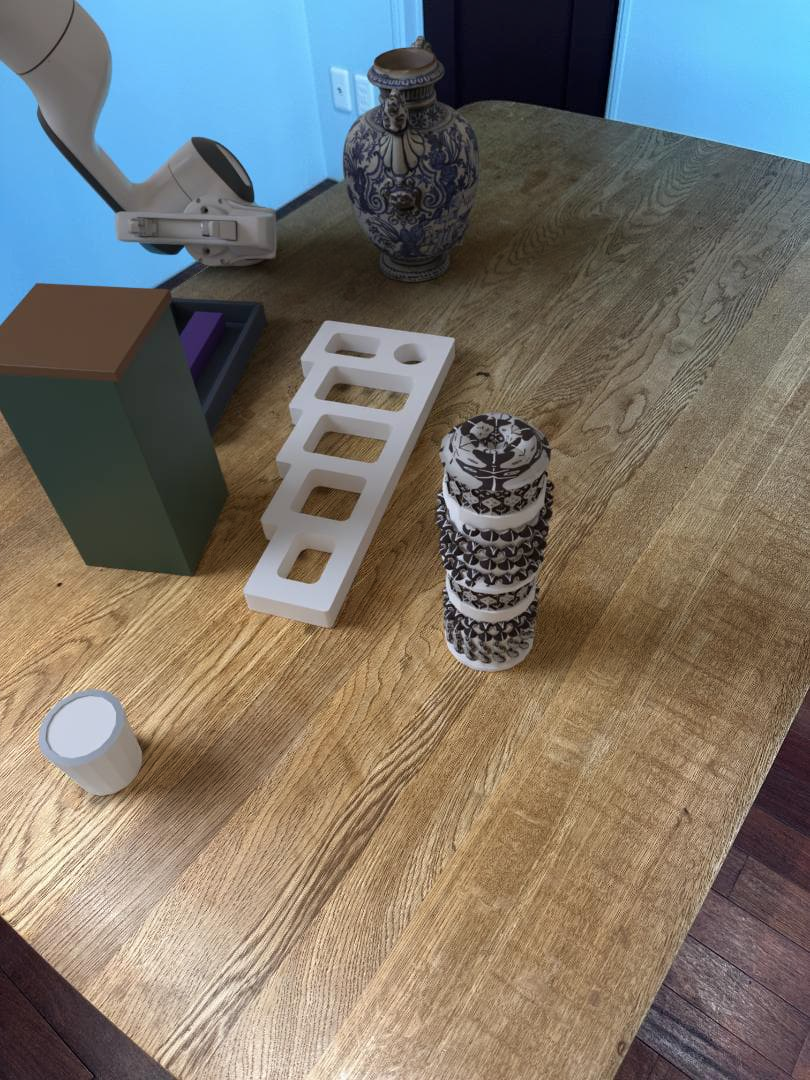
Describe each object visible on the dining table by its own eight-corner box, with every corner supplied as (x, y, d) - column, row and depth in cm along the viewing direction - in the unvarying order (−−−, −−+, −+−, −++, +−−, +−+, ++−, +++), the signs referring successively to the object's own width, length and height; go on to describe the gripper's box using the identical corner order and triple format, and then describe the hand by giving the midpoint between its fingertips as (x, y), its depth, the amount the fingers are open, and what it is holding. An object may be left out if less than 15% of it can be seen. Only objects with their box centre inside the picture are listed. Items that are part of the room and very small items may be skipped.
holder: (331, 628, 78) (327, 612, 76) (167, 590, 83) (159, 573, 81) (455, 355, 106) (455, 338, 104) (327, 337, 110) (325, 320, 108)
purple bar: (143, 420, 100) (136, 404, 98) (199, 326, 113) (195, 311, 111) (173, 422, 99) (167, 406, 98) (226, 328, 112) (222, 312, 110)
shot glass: (140, 801, 68) (113, 764, 63) (60, 804, 68) (26, 767, 63) (156, 727, 72) (132, 686, 67) (81, 730, 73) (50, 689, 67)
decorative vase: (468, 307, 113) (469, 92, 92) (339, 300, 116) (311, 90, 95) (485, 230, 127) (489, 27, 106) (370, 226, 130) (351, 28, 109)
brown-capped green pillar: (81, 564, 86) (-33, 362, 66) (126, 484, 93) (36, 282, 74) (197, 577, 84) (115, 372, 64) (233, 494, 91) (169, 288, 72)
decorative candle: (558, 632, 77) (588, 431, 58) (493, 694, 73) (502, 500, 54) (486, 580, 81) (492, 378, 62) (421, 635, 77) (406, 438, 58)
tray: (101, 439, 99) (91, 416, 96) (175, 319, 115) (169, 297, 113) (206, 447, 97) (199, 425, 94) (267, 324, 113) (262, 302, 111)
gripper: (142, 204, 110) (87, 196, 98) (286, 209, 107) (249, 201, 94) (145, 253, 113) (91, 251, 100) (287, 259, 109) (250, 258, 96)
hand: (169, 227), depth 97 cm, fingers open, 8 cm apart
